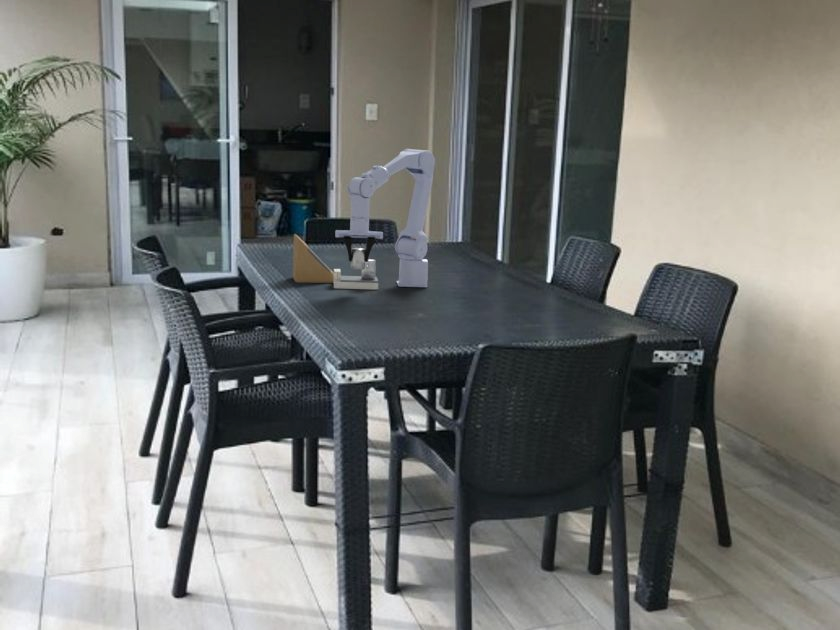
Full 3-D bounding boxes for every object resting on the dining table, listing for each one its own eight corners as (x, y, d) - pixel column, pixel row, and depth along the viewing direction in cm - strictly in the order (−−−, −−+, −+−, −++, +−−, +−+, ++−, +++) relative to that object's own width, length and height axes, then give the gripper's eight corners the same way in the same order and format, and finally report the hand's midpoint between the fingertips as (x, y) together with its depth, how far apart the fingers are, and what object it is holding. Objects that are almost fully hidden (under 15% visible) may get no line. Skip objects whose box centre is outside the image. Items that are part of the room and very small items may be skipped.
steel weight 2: (367, 277, 285) (367, 258, 283) (377, 278, 282) (378, 260, 281) (358, 278, 281) (358, 260, 280) (369, 280, 279) (369, 261, 277)
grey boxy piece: (376, 284, 287) (376, 269, 286) (378, 289, 279) (378, 274, 277) (332, 282, 285) (332, 267, 284) (333, 288, 277) (333, 272, 276)
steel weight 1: (364, 267, 273) (365, 248, 272) (365, 269, 269) (366, 250, 267) (350, 266, 272) (351, 247, 271) (351, 269, 268) (351, 249, 267)
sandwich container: (342, 283, 287) (344, 237, 284) (295, 282, 283) (296, 236, 280) (338, 278, 295) (339, 234, 292) (292, 277, 291) (293, 233, 288)
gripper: (336, 217, 262) (334, 262, 265) (384, 219, 264) (382, 264, 267) (335, 215, 269) (334, 258, 272) (382, 216, 271) (380, 260, 274)
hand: (358, 261), depth 270 cm, fingers closed on steel weight 1, 4 cm apart
